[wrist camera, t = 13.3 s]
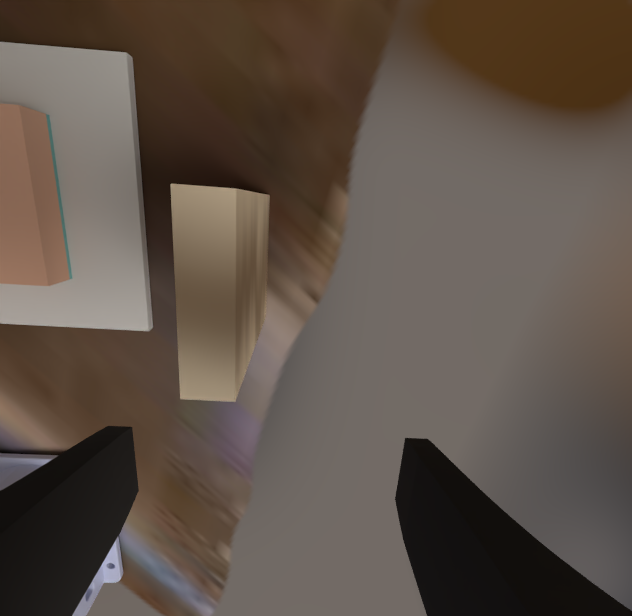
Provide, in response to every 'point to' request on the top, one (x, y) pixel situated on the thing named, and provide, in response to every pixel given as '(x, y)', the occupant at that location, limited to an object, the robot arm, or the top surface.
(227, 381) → the beige upright block
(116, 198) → the mat
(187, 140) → the top surface
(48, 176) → the tile
